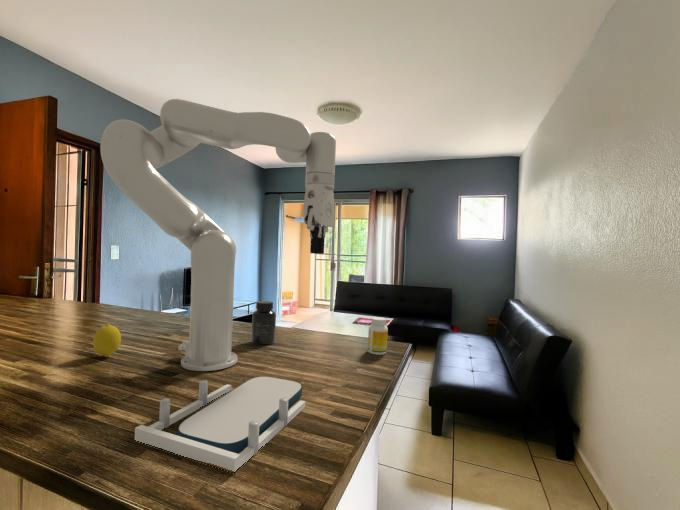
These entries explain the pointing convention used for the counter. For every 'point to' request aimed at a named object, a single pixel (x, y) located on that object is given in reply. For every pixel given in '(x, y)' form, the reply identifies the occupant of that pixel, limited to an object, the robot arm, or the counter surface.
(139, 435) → the dock
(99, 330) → the lemon
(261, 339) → the supplement bottle
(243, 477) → the counter surface
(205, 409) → the white blue rounded slab
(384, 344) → the supplement bottle
